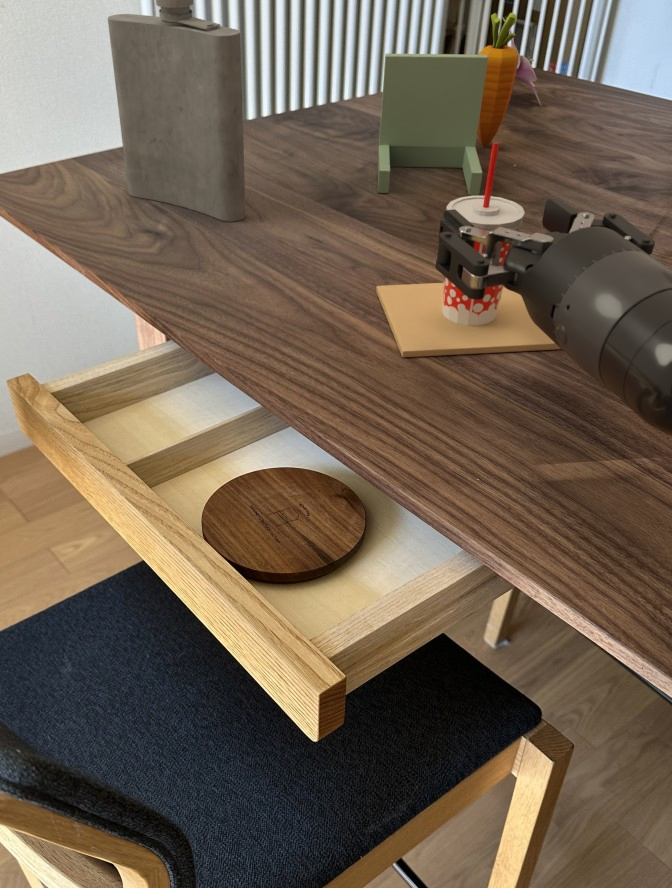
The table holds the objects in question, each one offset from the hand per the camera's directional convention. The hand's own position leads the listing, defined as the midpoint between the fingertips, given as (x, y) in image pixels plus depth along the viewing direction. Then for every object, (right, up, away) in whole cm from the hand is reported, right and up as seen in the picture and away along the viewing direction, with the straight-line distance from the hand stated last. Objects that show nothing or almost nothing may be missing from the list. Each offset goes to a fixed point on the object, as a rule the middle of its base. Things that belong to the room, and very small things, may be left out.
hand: (497, 216), depth 66 cm
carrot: (+10, +25, +43) cm, 50 cm away
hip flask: (-27, +12, +29) cm, 42 cm away
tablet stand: (+1, +17, +34) cm, 38 cm away
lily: (+18, +38, +58) cm, 72 cm away
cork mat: (0, -6, +8) cm, 10 cm away
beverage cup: (0, -6, +8) cm, 10 cm away
